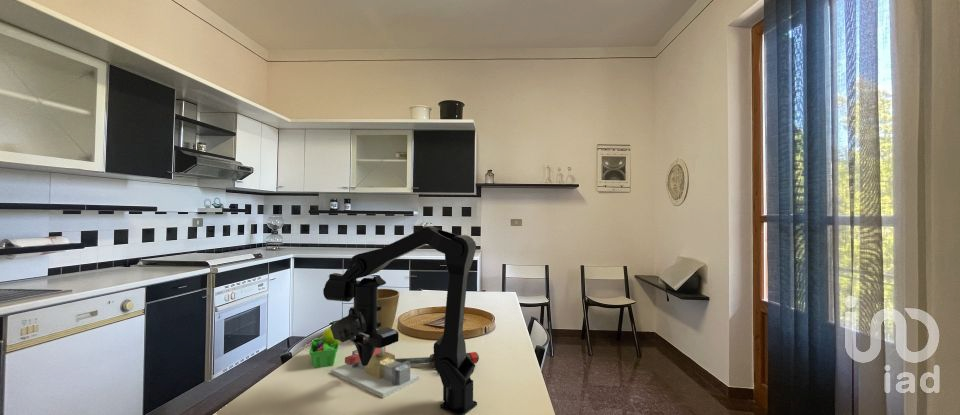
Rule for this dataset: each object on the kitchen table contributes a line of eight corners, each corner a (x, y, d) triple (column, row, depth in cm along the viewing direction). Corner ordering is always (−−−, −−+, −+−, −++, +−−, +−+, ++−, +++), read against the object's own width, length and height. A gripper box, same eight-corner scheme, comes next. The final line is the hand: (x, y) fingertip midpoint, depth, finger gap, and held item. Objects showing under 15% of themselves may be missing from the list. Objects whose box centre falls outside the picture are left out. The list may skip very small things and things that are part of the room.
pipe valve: (412, 382, 96) (412, 361, 96) (397, 389, 91) (397, 368, 92) (365, 362, 107) (365, 344, 107) (349, 368, 103) (350, 349, 103)
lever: (380, 352, 101) (380, 343, 101) (386, 354, 100) (386, 344, 100) (344, 366, 92) (344, 356, 92) (350, 368, 91) (350, 358, 91)
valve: (479, 360, 115) (479, 374, 101) (398, 363, 115) (385, 378, 101) (478, 339, 116) (478, 350, 102) (398, 342, 116) (385, 354, 102)
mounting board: (419, 379, 98) (419, 375, 98) (383, 397, 88) (383, 393, 88) (367, 359, 111) (367, 355, 111) (331, 373, 101) (331, 369, 101)
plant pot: (353, 334, 132) (353, 290, 132) (394, 329, 138) (394, 287, 138) (357, 349, 118) (358, 300, 118) (403, 342, 125) (403, 295, 125)
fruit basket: (312, 355, 113) (313, 319, 113) (343, 351, 116) (343, 316, 116) (308, 370, 103) (309, 330, 103) (342, 366, 105) (342, 327, 106)
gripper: (314, 303, 90) (313, 366, 90) (361, 317, 79) (360, 389, 79) (353, 295, 99) (353, 352, 99) (400, 306, 88) (399, 371, 88)
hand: (364, 365), depth 91 cm, fingers closed
